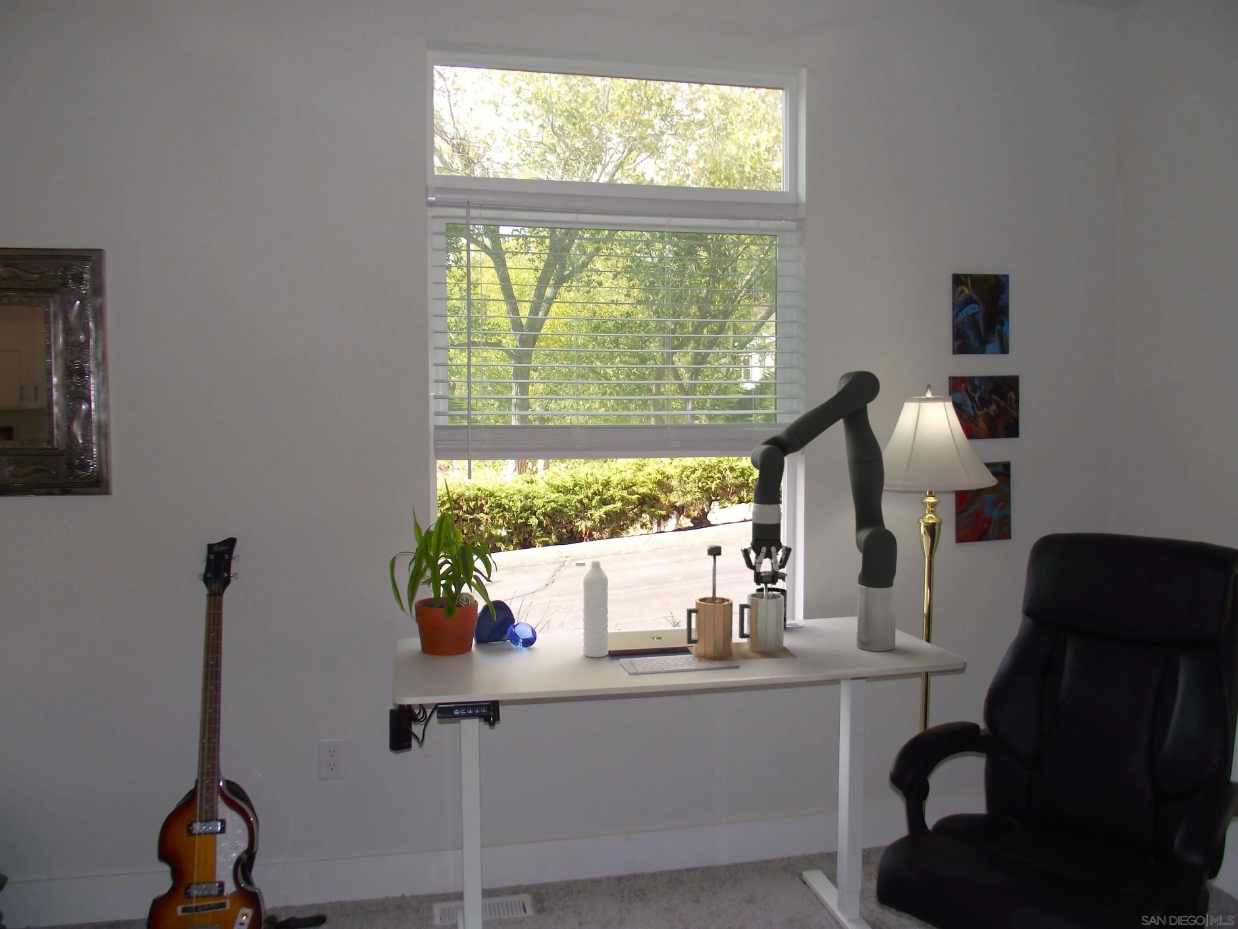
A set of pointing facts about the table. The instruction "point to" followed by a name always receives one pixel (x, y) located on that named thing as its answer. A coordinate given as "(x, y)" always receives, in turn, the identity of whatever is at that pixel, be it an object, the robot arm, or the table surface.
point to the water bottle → (595, 611)
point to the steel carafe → (763, 622)
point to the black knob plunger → (714, 568)
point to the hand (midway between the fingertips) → (765, 584)
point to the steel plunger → (766, 582)
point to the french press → (781, 591)
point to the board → (745, 653)
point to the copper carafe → (711, 627)
